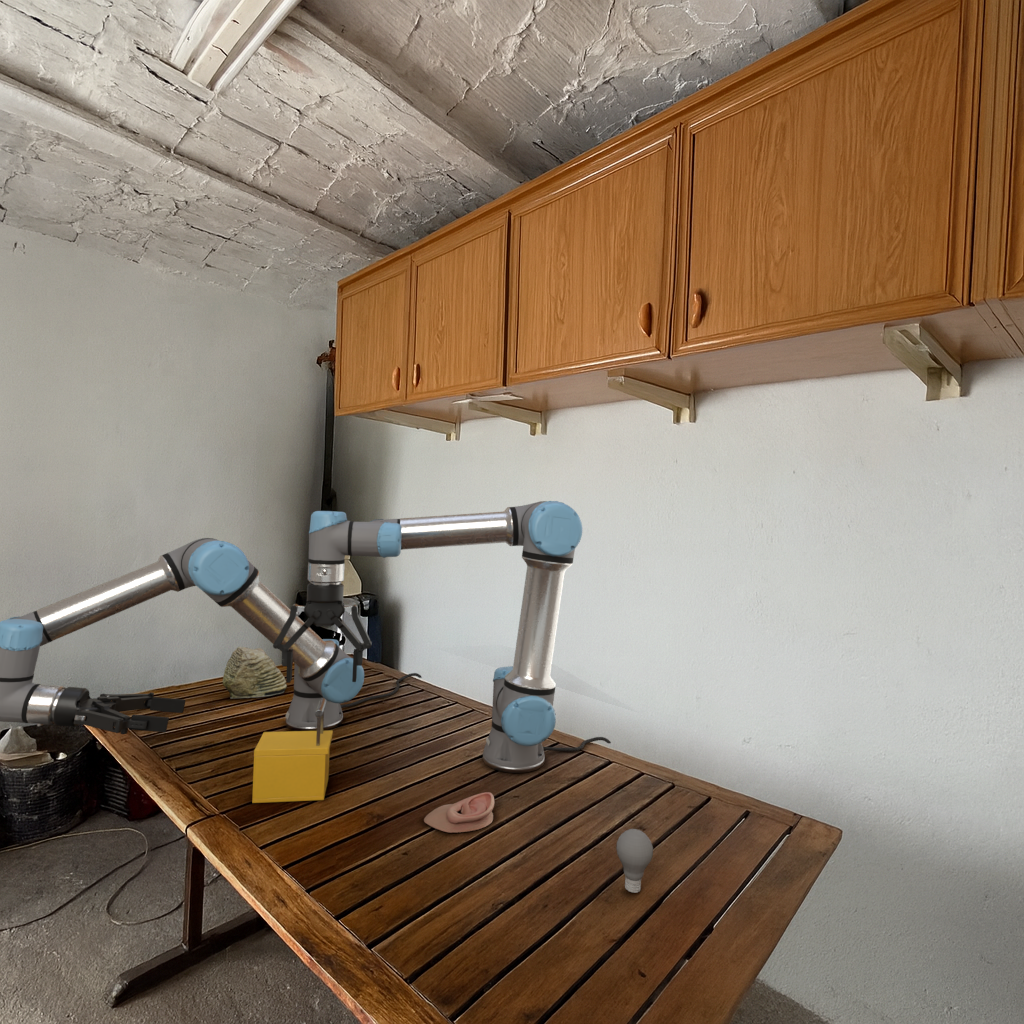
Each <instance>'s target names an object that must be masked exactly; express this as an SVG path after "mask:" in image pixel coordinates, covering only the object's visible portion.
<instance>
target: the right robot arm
mask: <svg viewBox="0 0 1024 1024" xmlns="http://www.w3.org/2000/svg"><path fill="white" fill-rule="evenodd" d="M309 523H310V524H309V531H308V562H307V563H308V565H307V581H308V582H309V583H308V584H307V585H306V587H307V588H306V604H305V605H301V604H300V605H299V604H298V603H293V604H292V605H291V606H290V610H291V611H290V616H289V618H288V620H287V621H286V623H285V625H284V627H283V628H282V630H281V632H280V634H279V636H278V637H277V639H276V641H275V643H274V644H273V643H272V647H273V649H275V650H276V649H277V650H279V649H280V650H281V651H280V650H279V651H280V652H281V666H282V667H286V676H285V680H286V684H287V683H288V684H290V683H291V682H292V680H293V663H294V662H293V649H289V648H290V647H291V646H292V645H293V644H294V643H295V642H296V641H297V639H298V638H299V637H300V636H301V635H302V634H303V633H304V632H305V631H306V630H307V629H308V628H311V626H312V625H313V626H316V627H323V626H324V627H328V628H329V627H333V626H336V628H337V629H339V630H340V631H341V633H342V635H344V637H345V638H346V639H347V640H348V641H349V642H350V643H351V645H352V646H353V647H354V649H353V653H352V654H353V655H352V658H353V677H352V682H356V679H357V666H362V665H363V662H364V661H363V660H364V659H363V658H364V657H363V656H364V651H365V650H367V649H370V648H372V643H373V642H372V640H371V638H370V635H369V634H368V632H367V630H366V628H365V626H364V624H363V621H362V620H361V617H360V615H359V608H358V604H355V603H354V604H352V605H346V606H345V604H344V588H345V586H344V584H343V582H344V581H345V567H346V566H345V565H346V563H345V559H346V556H348V557H353V556H354V557H355V556H356V557H376V558H377V557H378V558H383V559H385V558H397V557H399V556H400V555H401V553H402V550H403V551H404V550H417V549H433V548H446V547H461V546H475V545H489V544H490V545H491V544H502V543H504V544H507V545H508V546H509V547H522V552H521V559H522V560H523V561H524V563H525V564H526V572H525V580H524V587H523V593H522V600H521V601H522V602H521V606H520V607H521V608H520V615H519V622H518V628H517V636H516V642H515V643H516V644H515V651H514V657H513V659H514V660H513V664H512V666H511V665H510V666H509V665H508V666H501V667H498V668H496V669H495V670H494V673H493V679H492V682H493V686H492V687H493V689H492V707H491V708H492V709H491V729H490V732H489V734H488V736H486V738H485V745H484V748H483V752H482V762H483V763H484V764H485V765H486V766H487V767H489V768H490V769H493V770H495V771H498V772H503V773H510V774H511V773H512V774H522V773H529V772H535V771H537V770H539V769H540V768H542V767H543V766H544V764H545V760H546V759H545V758H546V757H545V756H546V755H545V751H551V752H579V751H581V750H583V749H584V747H585V745H587V744H589V743H593V742H597V741H603V742H604V743H606V744H612V742H611V741H610V740H609V738H606V737H603V736H595V737H592V738H588V739H585V740H583V741H582V742H581V744H580V745H579V746H576V747H555V746H543V743H544V742H545V741H546V740H547V739H549V738H550V737H551V735H552V734H553V732H554V730H555V727H556V722H557V718H556V717H557V716H556V710H555V708H554V701H555V695H556V694H555V693H556V684H557V683H556V681H555V680H554V679H553V678H552V676H551V673H552V665H553V658H554V652H555V644H556V637H557V630H558V623H559V617H560V616H559V615H560V609H561V601H562V594H563V587H564V580H565V575H566V574H565V573H566V571H567V570H568V569H570V567H571V566H573V564H574V558H575V552H576V551H575V550H576V548H577V547H578V546H579V545H580V542H581V540H582V538H583V537H582V536H583V523H582V519H581V517H580V515H579V514H578V513H577V511H576V510H575V509H574V508H573V507H571V506H570V505H568V504H566V503H564V502H562V501H558V500H542V501H541V500H540V501H537V502H533V503H529V504H523V505H517V506H508V507H506V508H505V509H504V510H503V511H492V512H490V511H489V512H479V513H478V512H477V513H463V514H462V513H461V514H447V515H446V514H445V515H433V516H420V517H419V516H415V517H402V518H388V519H387V518H386V519H384V518H376V519H375V518H374V519H373V520H371V521H353V520H348V517H347V513H346V512H344V511H333V510H316V511H313V512H311V515H310V522H309ZM302 612H304V614H305V615H306V617H307V619H306V620H305V622H304V624H303V625H302V626H301V627H300V628H299V629H298V630H297V632H296V633H295V634H294V635H293V636H292V637H291V638H290V639H289V640H288V641H287V642H286V643H282V641H283V639H284V638H285V636H286V634H287V632H288V630H289V629H290V627H291V625H292V623H293V622H294V620H295V618H296V616H298V617H299V616H300V615H301V613H302ZM345 613H347V614H348V616H349V617H351V618H352V621H353V623H354V625H355V627H356V629H357V631H358V634H359V636H360V638H361V640H362V642H361V640H359V638H358V637H357V636H356V635H355V634H354V632H353V631H352V630H351V629H350V628H349V626H348V625H347V624H346V622H345V621H344V619H342V616H343V615H344V614H345Z"/></svg>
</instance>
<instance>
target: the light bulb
mask: <svg viewBox="0 0 1024 1024" xmlns="http://www.w3.org/2000/svg"><path fill="white" fill-rule="evenodd" d="M615 849H616V854H617V857H618V859H619V861H620V863H621V865H622V867H623V873H624V874H623V875H624V876H625V878H624V888H625V890H627V891H628V892H630V893H634V894H635V893H639V892H640V891H641V889H642V887H641V886H642V879H643V877H644V875H645V871H646V868H647V867H648V866H649V864H650V863H651V861H652V859H653V855H654V847H653V843H652V841H651V838H649V836H648V835H647V834H646V833H645V832H643V831H642V830H641V829H636V828H629V829H627V830H625V831H623V832H622V833H621V834H620V835H619V837H618V839H617V841H616V847H615Z"/></svg>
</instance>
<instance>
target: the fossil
mask: <svg viewBox="0 0 1024 1024" xmlns="http://www.w3.org/2000/svg"><path fill="white" fill-rule="evenodd" d="M222 676H223V677H222V685H223V687H224V688H225V690H226V691H228V693H229V698H230V699H250V698H264V697H271V696H275V695H281V694H284V693H285V691H286V689H287V687H288V686H287V683H286V676H284V674H283V673H282V672H281V669H279V668H278V667H277V665H276V663H275V662H274V660H273V659H272V658H271V657H270V656H269V655H268V654H267V653H266V652H265V650H264V649H263V648H260V647H258V648H251V647H247V646H246V647H245V646H238V647H237V648H236V649H235V650H233V651H232V653H231V656H230V657H229V659H228V660H227V663H226V666H225V668H224V671H223V675H222Z"/></svg>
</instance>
